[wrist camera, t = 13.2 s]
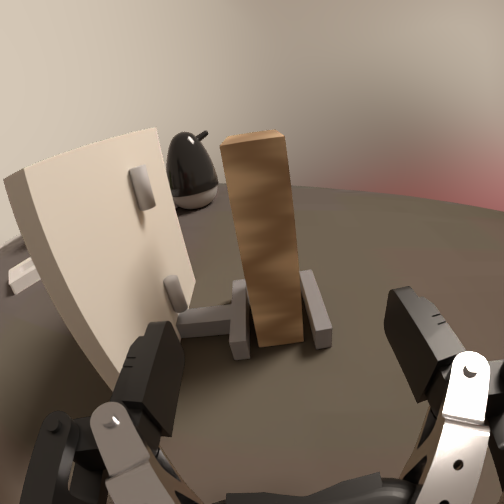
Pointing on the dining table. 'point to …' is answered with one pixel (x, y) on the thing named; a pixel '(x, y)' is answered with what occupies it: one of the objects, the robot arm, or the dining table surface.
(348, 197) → the dining table surface
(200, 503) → the robot arm
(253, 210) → the tall wooden block
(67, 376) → the dining table surface
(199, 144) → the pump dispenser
